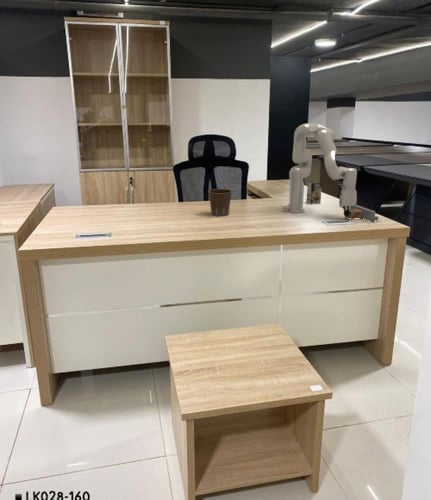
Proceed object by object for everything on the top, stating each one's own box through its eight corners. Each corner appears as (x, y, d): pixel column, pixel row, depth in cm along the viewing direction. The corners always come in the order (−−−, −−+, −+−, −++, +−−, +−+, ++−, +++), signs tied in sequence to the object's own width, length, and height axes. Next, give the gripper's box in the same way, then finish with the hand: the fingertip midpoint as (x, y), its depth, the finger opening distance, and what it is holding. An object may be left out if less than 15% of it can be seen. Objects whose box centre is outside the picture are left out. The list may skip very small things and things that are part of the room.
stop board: (371, 222, 268) (372, 211, 266) (349, 213, 292) (350, 203, 290) (379, 222, 269) (380, 211, 267) (356, 213, 293) (357, 203, 291)
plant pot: (229, 217, 281) (229, 193, 277) (206, 216, 285) (205, 192, 280) (233, 212, 297) (233, 189, 292) (211, 211, 300) (211, 188, 295)
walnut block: (350, 219, 276) (351, 212, 274) (345, 217, 282) (345, 210, 280) (361, 219, 277) (362, 211, 276) (355, 216, 284) (356, 209, 282)
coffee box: (310, 204, 322) (312, 183, 317) (305, 203, 327) (307, 182, 322) (320, 203, 325) (322, 182, 320) (315, 202, 331) (317, 181, 326)
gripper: (341, 189, 266) (338, 217, 272) (362, 188, 269) (359, 216, 275) (335, 187, 273) (332, 215, 279) (356, 186, 276) (353, 214, 282)
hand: (346, 215), depth 277 cm, fingers closed
